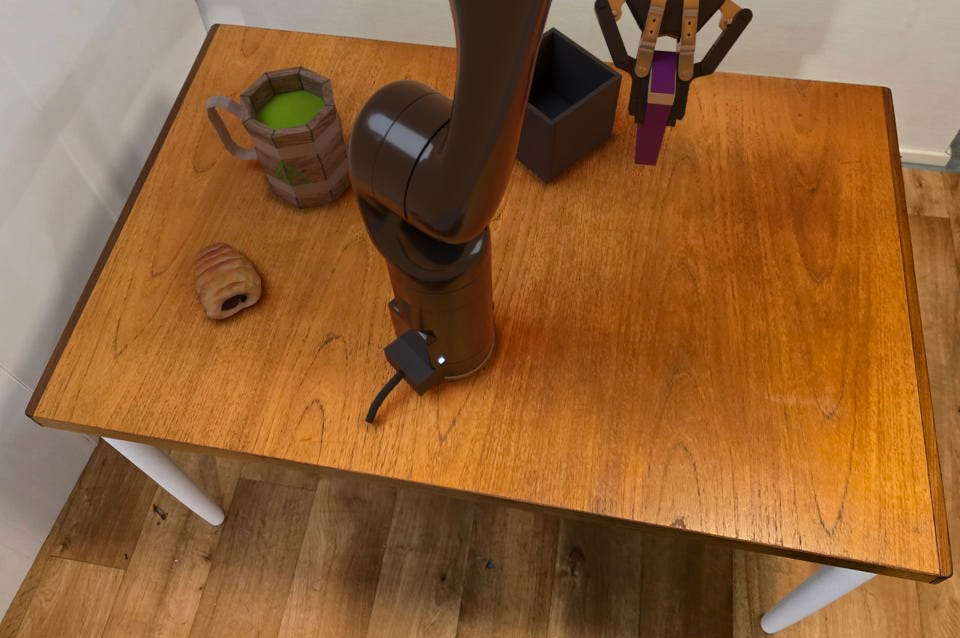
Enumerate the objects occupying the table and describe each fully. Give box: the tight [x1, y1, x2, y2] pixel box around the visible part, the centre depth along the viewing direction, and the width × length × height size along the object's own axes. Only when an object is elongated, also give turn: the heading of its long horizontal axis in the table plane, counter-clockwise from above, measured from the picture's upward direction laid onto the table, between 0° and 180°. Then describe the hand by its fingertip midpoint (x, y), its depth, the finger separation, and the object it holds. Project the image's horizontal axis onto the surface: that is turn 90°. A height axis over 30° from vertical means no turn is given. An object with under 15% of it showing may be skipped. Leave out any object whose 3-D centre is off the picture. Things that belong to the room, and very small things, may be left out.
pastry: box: [192, 241, 262, 320], centre depth 82 cm, size 9×7×4 cm
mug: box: [205, 65, 351, 209], centre depth 86 cm, size 16×11×12 cm
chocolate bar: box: [633, 49, 677, 167], centre depth 66 cm, size 2×5×9 cm, turn 171°
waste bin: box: [515, 26, 623, 184], centre depth 89 cm, size 11×11×10 cm
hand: (654, 124), depth 65 cm, fingers closed on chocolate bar, 2 cm apart
